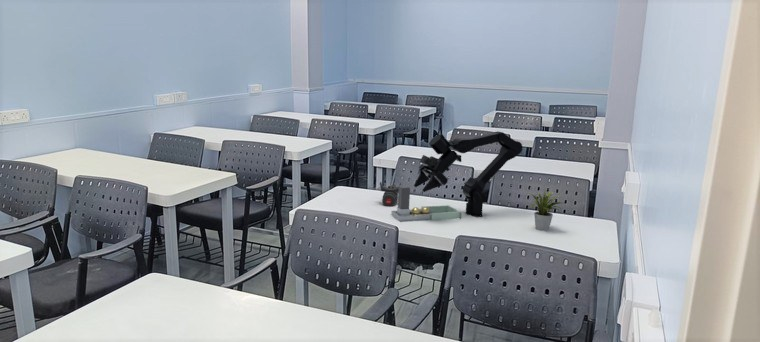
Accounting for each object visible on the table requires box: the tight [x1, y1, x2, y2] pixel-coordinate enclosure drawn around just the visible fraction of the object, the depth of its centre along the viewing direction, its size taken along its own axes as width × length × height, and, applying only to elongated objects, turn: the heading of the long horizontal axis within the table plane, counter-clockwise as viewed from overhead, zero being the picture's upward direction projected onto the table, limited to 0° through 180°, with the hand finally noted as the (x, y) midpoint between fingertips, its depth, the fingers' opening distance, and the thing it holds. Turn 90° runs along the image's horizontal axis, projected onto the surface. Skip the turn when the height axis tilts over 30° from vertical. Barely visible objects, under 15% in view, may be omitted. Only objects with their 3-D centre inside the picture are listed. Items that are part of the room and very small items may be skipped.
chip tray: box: [420, 204, 462, 221], centre depth 228 cm, size 13×12×3 cm
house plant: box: [527, 188, 563, 231], centre depth 213 cm, size 14×14×16 cm
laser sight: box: [379, 181, 402, 207], centre depth 251 cm, size 10×22×10 cm, turn 174°
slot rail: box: [390, 208, 458, 223], centre depth 226 cm, size 27×12×2 cm, turn 108°
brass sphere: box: [410, 207, 421, 215], centre depth 225 cm, size 4×4×4 cm
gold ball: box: [420, 206, 430, 214], centre depth 226 cm, size 4×4×4 cm
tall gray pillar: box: [396, 185, 411, 215], centre depth 222 cm, size 4×4×13 cm
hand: (418, 188), depth 223 cm, fingers open, 9 cm apart
